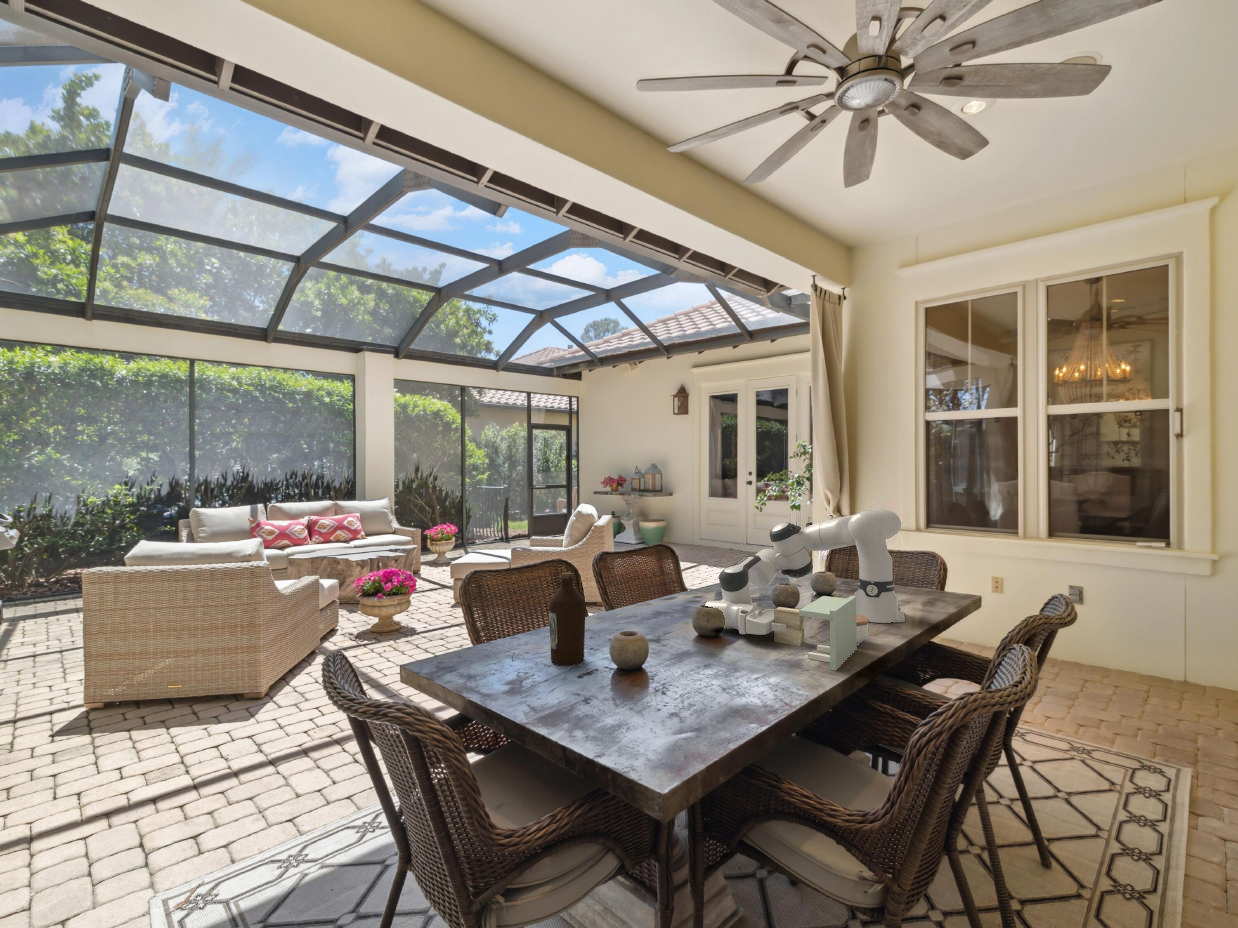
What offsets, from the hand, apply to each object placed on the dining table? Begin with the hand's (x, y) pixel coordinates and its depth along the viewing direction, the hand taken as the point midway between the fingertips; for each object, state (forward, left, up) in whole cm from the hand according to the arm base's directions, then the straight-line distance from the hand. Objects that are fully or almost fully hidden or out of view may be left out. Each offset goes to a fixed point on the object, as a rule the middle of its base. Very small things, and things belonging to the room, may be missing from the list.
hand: (791, 624), depth 186 cm
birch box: (0, -1, -6) cm, 6 cm away
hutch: (+8, +14, -6) cm, 17 cm away
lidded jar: (-10, +15, -6) cm, 19 cm away
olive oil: (+53, -47, -6) cm, 71 cm away
